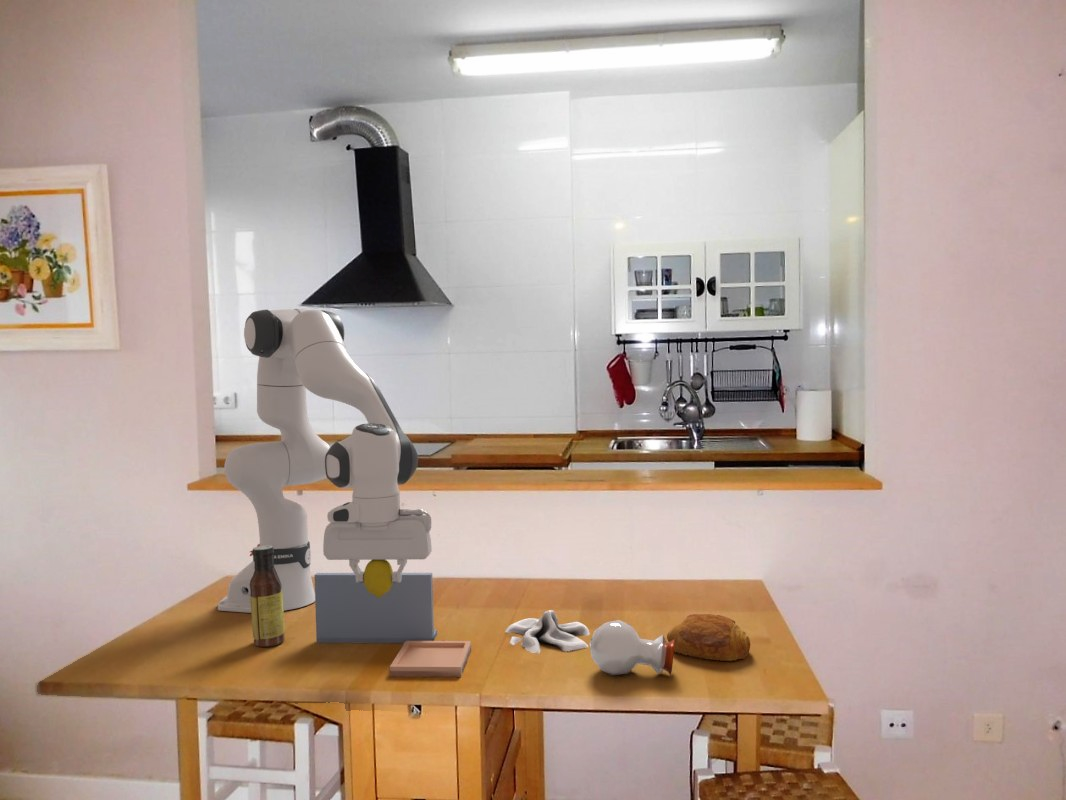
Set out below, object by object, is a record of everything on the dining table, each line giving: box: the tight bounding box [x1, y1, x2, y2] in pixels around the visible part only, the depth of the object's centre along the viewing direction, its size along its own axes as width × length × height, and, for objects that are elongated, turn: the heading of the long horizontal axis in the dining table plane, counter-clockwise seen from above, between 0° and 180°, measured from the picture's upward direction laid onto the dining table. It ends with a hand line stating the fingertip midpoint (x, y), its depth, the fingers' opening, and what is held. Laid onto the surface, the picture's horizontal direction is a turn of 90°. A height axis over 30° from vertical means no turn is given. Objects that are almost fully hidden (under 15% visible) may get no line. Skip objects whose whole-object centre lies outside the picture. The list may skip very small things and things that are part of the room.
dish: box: [389, 640, 472, 678], centre depth 145 cm, size 13×13×2 cm
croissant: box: [666, 613, 751, 662], centre depth 148 cm, size 14×16×8 cm
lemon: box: [363, 560, 394, 598], centre depth 145 cm, size 6×6×8 cm
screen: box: [314, 572, 438, 644], centre depth 158 cm, size 24×5×14 cm, turn 86°
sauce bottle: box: [250, 545, 286, 648], centre depth 156 cm, size 7×6×20 cm
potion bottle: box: [589, 619, 675, 676], centre depth 138 cm, size 9×10×15 cm
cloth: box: [504, 609, 591, 654], centre depth 156 cm, size 22×19×6 cm
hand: (378, 582), depth 145 cm, fingers closed on lemon, 6 cm apart
